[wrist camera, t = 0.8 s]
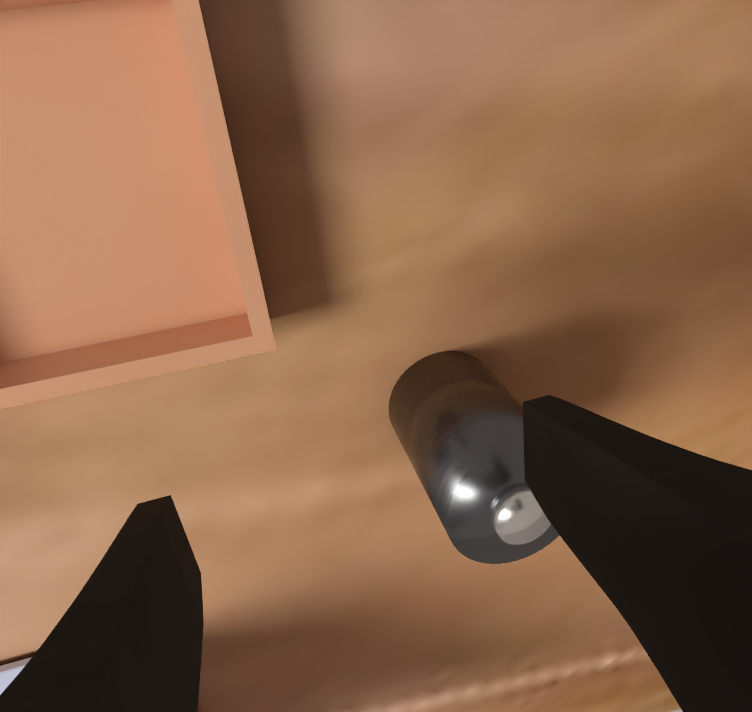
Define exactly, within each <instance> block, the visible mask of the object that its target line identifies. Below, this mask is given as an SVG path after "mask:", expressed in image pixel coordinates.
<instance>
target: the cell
mask: <svg viewBox="0 0 752 712" xmlns="http://www.w3.org/2000/svg"><path fill="white" fill-rule="evenodd" d="M389 417H390V421H391V424H392V426H393V428H394V430H395V432H396V434H397V436H398V438H399V440H400V442H401V444H402V446H403V448H404V450H405V452H406V454H407V455H408V457H409V459H410V461H411V463H412V465H413V467H414V469H415V471H416V473H417V475H418V477H419V479H420V481H421V483H422V485H423V487H424V489H425V491H426V493H427V495H428V497H429V498H430V500H431V502H432V504H433V506H434V508H435V510H436V512H437V514H438V516H439V518H440V520H441V522H442V524H443V526H444V528H445V530H446V532H447V534H448V536H449V538H450V540H451V541H452V543H453V545H454V546H455V547H456V549H457V550H458V551H459V552H460V553H462V554H463V555H464V556H466V557H468V558H469V559H472V560H474V561H477V562H482V563H489V564H501V563H508V562H512V561H516V560H519V559H522V558H525V557H528V556H530V555H532V554H534V553H536V552H538V551H539V550H541V549H543V548H544V547H546V546H547V545H549V544H550V543H551V542H552V541H553V540H555V539H556V538H557V537H558V536H559V534H558V532H557V531H556V530H555V528H554V527H553V526H552V524H551V523H550V522H549V520H548V519H547V517H546V516H545V514H544V512H543V511H542V509H541V507H540V506H539V504H538V502H537V501H536V499H535V497H534V495H533V494H532V492H531V490H530V488H529V486H528V485H527V483H526V481H525V473H524V435H523V406H522V405H521V404H520V403H519V402H518V400H517V399H516V398H515V397H514V396H513V395H512V394H511V393H510V392H509V391H508V390H507V389H506V388H505V387H504V386H503V385H502V384H501V383H500V381H499V380H498V379H497V378H496V377H495V376H494V375H493V374H492V373H491V372H490V371H489V370H488V369H487V368H486V367H485V366H484V365H483V364H482V363H481V362H480V361H479V360H478V359H476V358H475V357H473V356H471V355H468V354H466V353H462V352H454V351H448V352H440V353H436V354H432V355H429V356H427V357H425V358H423V359H421V360H419V361H417V362H416V363H415V364H413V365H412V366H411V367H409V368H408V369H407V370H406V371H405V372H404V373H403V375H402V376H401V377H400V378H399V380H398V381H397V383H396V385H395V386H394V388H393V391H392V393H391V397H390V401H389Z"/></svg>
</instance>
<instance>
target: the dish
mask: <svg viewBox="0 0 752 712" xmlns="http://www.w3.org/2000/svg"><path fill="white" fill-rule="evenodd" d="M273 350H277V349H276V345H275V341H274V336H273V332H272V327H271V323H270V318H269V314H268V309H267V305H266V300H265V296H264V291H263V287H262V282H261V278H260V273H259V269H258V264H257V260H256V255H255V251H254V246H253V242H252V237H251V233H250V228H249V224H248V219H247V215H246V211H245V206H244V202H243V197H242V193H241V188H240V184H239V179H238V175H237V170H236V166H235V161H234V157H233V152H232V148H231V143H230V139H229V134H228V130H227V125H226V121H225V116H224V112H223V107H222V103H221V99H220V94H219V90H218V85H217V81H216V76H215V72H214V67H213V63H212V58H211V54H210V49H209V45H208V40H207V36H206V31H205V27H204V22H203V18H202V13H201V9H200V4H199V0H0V409H3V408H8V407H13V406H17V405H22V404H27V403H31V402H36V401H41V400H45V399H50V398H55V397H59V396H64V395H69V394H73V393H78V392H82V391H87V390H92V389H96V388H101V387H106V386H110V385H115V384H120V383H124V382H129V381H134V380H138V379H143V378H148V377H152V376H157V375H162V374H166V373H171V372H176V371H180V370H185V369H189V368H194V367H199V366H203V365H208V364H213V363H217V362H222V361H227V360H231V359H236V358H241V357H245V356H250V355H255V354H259V353H264V352H269V351H273Z"/></svg>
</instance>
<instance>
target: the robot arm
mask: <svg viewBox="0 0 752 712" xmlns="http://www.w3.org/2000/svg"><path fill="white" fill-rule="evenodd" d="M523 435H524V473H525V481H526V483H527V485H528V486H529V488H530V490H531V492H532V494H533V495H534V497H535V499H536V501H537V502H538V504H539V506H540V507H541V509H542V511H543V512H544V514H545V516H546V517H547V519H548V520H549V522H550V523H551V524H552V526H553V527H554V528H555V530H556V531H557V532H558V534H559V535H560V536H561V537H562V539H563V540H564V541H565V543H566V544H567V545H568V547H569V548H570V549H571V550H572V552H573V553H574V554H575V555H576V557H577V558H578V559H579V561H580V562H581V563H582V564H583V566H584V567H585V568H586V570H587V571H588V572H589V573H590V575H591V576H592V577H593V578H594V580H595V581H596V582H597V584H598V585H599V586H600V587H601V589H602V590H603V591H604V592H605V594H606V595H607V596H608V598H609V599H610V600H611V601H612V603H613V604H614V605H615V606H616V608H617V609H618V611H619V612H620V613H621V615H622V616H623V618H624V619H625V620H626V622H627V623H628V625H629V626H630V627H631V629H632V630H633V632H634V634H635V635H636V637H637V638H638V640H639V641H640V643H641V645H642V646H643V648H644V649H645V651H646V652H647V654H648V656H649V657H650V659H651V660H652V662H653V663H654V665H655V667H656V668H657V670H658V671H659V673H660V674H661V676H662V678H663V679H664V681H665V683H666V684H667V686H668V688H669V689H670V691H671V693H672V694H673V696H674V698H675V699H676V701H677V703H678V704H679V706H680V708H681V709H682V711H683V712H752V470H749V469H745V468H742V467H738V466H735V465H732V464H728V463H725V462H721V461H718V460H715V459H712V458H709V457H705V456H702V455H699V454H697V453H694V452H691V451H688V450H685V449H683V448H680V447H677V446H674V445H672V444H669V443H666V442H663V441H661V440H658V439H656V438H653V437H650V436H648V435H645V434H643V433H640V432H638V431H636V430H633V429H631V428H628V427H626V426H623V425H621V424H619V423H616V422H614V421H612V420H609V419H607V418H605V417H602V416H600V415H598V414H595V413H593V412H591V411H588V410H586V409H584V408H581V407H579V406H577V405H574V404H572V403H569V402H567V401H564V400H562V399H559V398H557V397H554V396H551V395H548V396H544V397H540V398H536V399H533V400H529V401H525V402H523ZM202 639H203V601H202V585H201V572H200V570H199V567H198V564H197V562H196V559H195V557H194V554H193V552H192V549H191V546H190V544H189V541H188V539H187V536H186V534H185V531H184V528H183V526H182V523H181V521H180V518H179V516H178V513H177V510H176V508H175V505H174V503H173V500H172V498H171V495H170V496H166V497H162V498H158V499H154V500H151V501H147V502H143V503H139V504H137V506H136V507H135V509H134V510H133V512H132V513H131V515H130V516H129V518H128V519H127V521H126V522H125V524H124V525H123V527H122V529H121V530H120V532H119V533H118V535H117V537H116V538H115V540H114V541H113V543H112V544H111V546H110V548H109V549H108V551H107V552H106V554H105V555H104V557H103V559H102V560H101V562H100V563H99V565H98V566H97V568H96V569H95V571H94V572H93V574H92V575H91V577H90V578H89V580H88V581H87V583H86V584H85V586H84V587H83V589H82V590H81V592H80V593H79V595H78V596H77V598H76V599H75V600H74V602H73V603H72V605H71V606H70V607H69V609H68V610H67V611H66V613H65V614H64V616H63V617H62V618H61V620H60V621H59V622H58V624H57V625H56V627H55V628H54V629H53V631H52V632H51V633H50V635H49V636H48V637H47V639H46V640H45V642H44V643H43V644H42V645H41V647H40V648H39V649H38V650H37V652H36V653H35V654H34V656H33V657H30V658H27V659H23V660H20V661H16V662H13V663H9V664H5V665H2V666H0V712H197V708H198V694H199V681H200V668H201V653H202Z"/></svg>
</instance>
